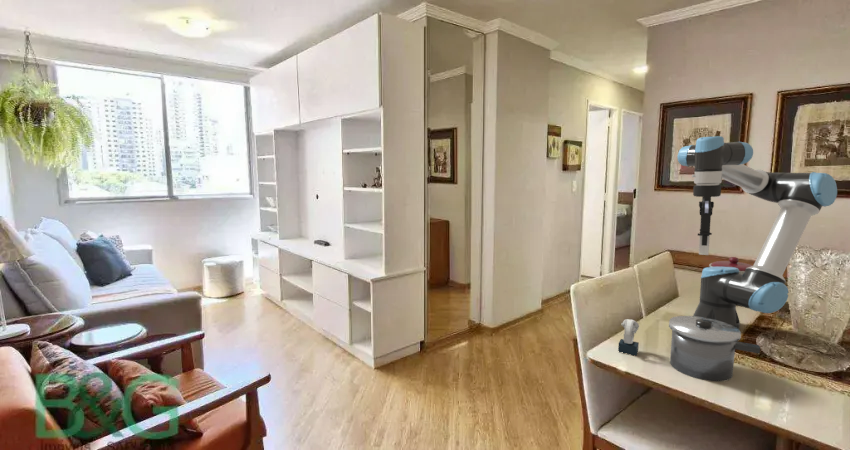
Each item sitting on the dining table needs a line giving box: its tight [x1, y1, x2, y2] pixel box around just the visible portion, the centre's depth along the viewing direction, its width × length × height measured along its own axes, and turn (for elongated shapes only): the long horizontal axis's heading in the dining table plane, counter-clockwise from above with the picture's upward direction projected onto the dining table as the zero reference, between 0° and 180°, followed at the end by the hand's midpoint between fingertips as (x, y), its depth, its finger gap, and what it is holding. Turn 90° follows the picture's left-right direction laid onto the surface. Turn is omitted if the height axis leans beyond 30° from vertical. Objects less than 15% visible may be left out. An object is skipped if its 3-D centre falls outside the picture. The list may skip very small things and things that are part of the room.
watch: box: [617, 318, 640, 357], centre depth 136 cm, size 6×8×11 cm
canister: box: [708, 256, 753, 274], centre depth 188 cm, size 18×18×21 cm
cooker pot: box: [669, 330, 761, 382], centre depth 123 cm, size 17×22×12 cm
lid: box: [668, 315, 742, 343], centre depth 123 cm, size 18×18×3 cm
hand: (703, 254), depth 137 cm, fingers closed
